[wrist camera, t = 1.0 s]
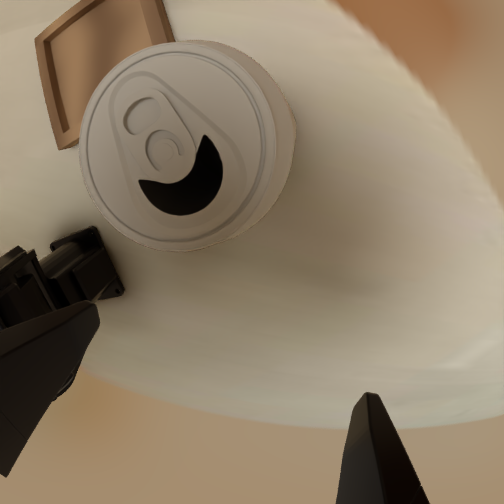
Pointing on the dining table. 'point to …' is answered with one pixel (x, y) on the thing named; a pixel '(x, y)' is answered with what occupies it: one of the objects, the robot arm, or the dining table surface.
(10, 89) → the dining table surface
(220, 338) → the dining table surface
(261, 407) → the dining table surface
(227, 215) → the beverage can
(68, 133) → the tray
